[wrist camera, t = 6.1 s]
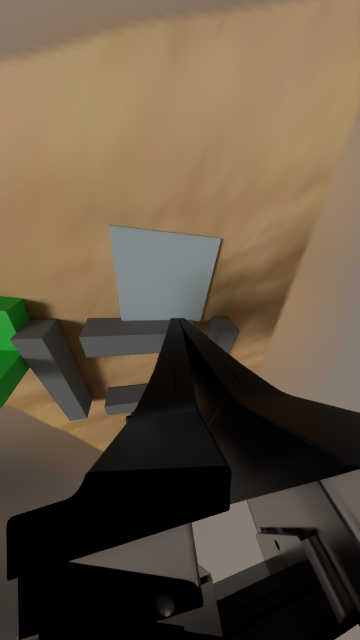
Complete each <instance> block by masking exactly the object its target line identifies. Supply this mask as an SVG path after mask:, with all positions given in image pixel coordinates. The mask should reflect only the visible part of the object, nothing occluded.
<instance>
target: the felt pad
mask: <svg viewBox="0 0 360 640" xmlns="http://www.w3.org/2000/svg"><path fill="white" fill-rule="evenodd" d="M109 228H110V236H111V244H112V251H113V259H114V266H115V274H116V282H117V289H118V297H119V305H120V312H121V320H122V321H133V320H170V318H185V319H187V320H192V321H201V317H202V313H203V309H204V305H205V301H206V297H207V293H208V289H209V285H210V281H211V277H212V273H213V269H214V265H215V261H216V257H217V254H218V250H219V246H220V242H221V238H217V237H208V236H200V235H192V234H183V233H175V232H166V231H158V230H149V229H141V228H132V227H124V226H115V225H109Z"/></svg>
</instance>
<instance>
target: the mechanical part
mask: <svg viewBox="0 0 360 640" xmlns="http://www.w3.org/2000/svg"><path fill="white" fill-rule="evenodd" d="M29 319H30V318H29V315H28V313H27V310H26V307H25V304H24V302H23V299H21V298H12V297H3V296H0V408H1V407H2V406H3V405H4V403H5V402H6V401H7V399H8V398H9V396H10V395H11V394H12V392H13V391H14V389H15V388H16V386H17V385H18V384H19V382H20V381H21V379H22V378H23V376H24V375H25V373H26V372H27V371H28V369H29V368H30V366H29V365H28V364H27V362H26V361H25V360H24V358H23V357H22V356H21V354H20V353H19V352H18V350H17V349H16V348H15V346H14V345H13V344H12V342H11V341H10V339H11V338H12V337H13V336H14V335H15V334H16V333H17V332H18V331H19V330H20V329H21V328H22V327H23V326H24V324H25V323H26V322H27V321H28V320H29Z"/></svg>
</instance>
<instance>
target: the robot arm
mask: <svg viewBox="0 0 360 640" xmlns="http://www.w3.org/2000/svg"><path fill="white" fill-rule="evenodd" d="M126 422H127V423H126V425H125V426H124V427H123V428H122V430H121V431H120V432H119V434H118V435H117V436H116V437H115V439H114V440H113V441H112V442H111V444H110V445H109V446H108V447H107V449H106V450H105V451H104V452H103V454H102V455H101V456H100V457H99V459H98V460H97V461H96V463H95V464H94V465H93V466H92V468H91V469H90V470H89V471H88V472H87V473H86V475H85V478H84V480H83V482H82V485H81V486H80V488H79V489H78V491H77V492H76V493H75V494H74V495H73V496H72V497H70V498H68V499H66V500H63V501H60V502H57V503H54V504H51V505H47V506H44V507H41V508H38V509H35V510H32V511H28V512H25V513H22V514H19V515H16V516H13V517H11V518H10V519H9V520H8V522H7V527H6V530H7V579H8V580H12V579H16V578H18V610H19V611H18V612H19V637H18V638H17V639H16V640H335V639H336V638H338V637H339V636H341V635H342V634H344V633H345V632H347V631H348V630H350V629H351V628H353V627H354V626H355V625H357V624H359V626H360V413H359V412H354V411H350V410H346V409H343V408H339V407H335V406H331V405H327V404H323V403H318V402H315V401H311V400H306V399H303V398H299V397H295V396H291V395H289V394H286V393H284V392H282V391H280V390H278V389H277V388H275V387H274V386H272V385H270V384H269V383H268V382H266V381H265V380H263V379H262V378H260V377H259V376H258V375H256V374H255V373H253V372H252V371H251V370H249V369H248V368H246V367H245V366H244V365H242V364H241V363H239V362H238V361H237V360H236V359H234V358H233V357H232V356H231V355H229V354H228V353H227V352H225V351H224V350H223V349H222V348H221V347H219V346H218V345H217V344H216V343H215V342H213V341H212V340H211V339H210V338H209V337H207V336H206V335H205V334H204V333H202V332H201V331H200V330H199V329H198V328H196V327H195V326H194V325H193V324H191V323H190V322H189V321H188V320H187V319H185V318H170V321H169V325H168V328H167V331H166V334H165V337H164V341H163V344H162V347H161V350H160V354H159V357H158V360H157V363H156V366H155V369H154V371H153V374H152V376H151V378H150V380H149V382H148V384H147V386H146V388H145V390H144V392H143V394H142V397H141V399H140V401H139V403H138V405H137V407H136V408H135V410H134V412H133V414H132V415H129V416H127V417H126ZM244 500H247V503H248V506H249V509H250V512H251V515H252V517H253V520H254V523H255V526H256V529H257V531H258V533H256V538H257V540H258V543H259V546H260V549H261V552H262V555H263V558H264V561H263V562H261V563H259V564H256V565H254V566H252V567H250V568H247V569H245V570H243V571H241V572H238V573H236V574H234V575H232V576H229V577H227V578H225V579H223V580H221V581H218V582H216V583H214V584H213V580H212V577H211V573H210V572H208V571H207V570H206V569H204V568H203V567H201V566H200V565H199V564H198V562H197V555H196V549H195V542H194V536H193V529H192V522H195V521H198V520H201V519H204V518H207V517H210V516H213V515H217V514H220V513H222V512H226V511H228V510H229V509H230V504H233V503H237V502H240V501H244Z"/></svg>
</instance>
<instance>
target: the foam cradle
mask: <svg viewBox="0 0 360 640" xmlns="http://www.w3.org/2000/svg"><path fill="white" fill-rule="evenodd" d="M169 321H170V320H133V321H122V320H121V318H98V319H87V321H86V323H85V325H84V327H83V329H82V332H81V334H80V336H79V339H80V342H81V345H82V347H83V350H84V353H85V355H86V358H88V357H104V356H119V355H135V354H150V353H160V350H161V347H162V344H163V341H164V337H165V334H166V331H167V328H168V325H169ZM188 321H189V322H190V323H191V324H193V325H194V323H193V321H192V320H188ZM238 333H239V330H238V329H237V327H236V326H235V325H234V323H233V322H232V321H231V319H230V318H229V317H212V320H211V323H210V327H209V330H208V333H207V337H209V338H210V339H211V340H212V341H213V342H215V343H216V344H217V345H218V346H219V347H221V348H222V349H223V350H224V351H225V352H227V353H228V354H229V352H230V350H231V348H232V346H233V344H234V342H235V340H236V337H237V335H238ZM10 341H11V342H12V344H13V345H14V346H15V348H16V349H17V350H18V352H19V353H20V354H21V356H22V357H23V358H24V360H25V361H26V362H27V364H28V365H29V366H30V368H31V369H32V370H33V372H34V373H35V374H36V376H37V377H38V379H39V380H40V381H41V383H42V384H43V385H44V387H45V388H46V389H47V391H48V392H49V393H50V395H51V396H52V397H53V399H54V400H55V401H56V403H57V404H58V405H59V407H60V408H61V409H62V411H63V412H64V413H65V415H66V416H67V417H68V419H69V420H70V421H72V420H79V419H85V418H87V417H88V413H89V410H90V406H91V402H92V398H91V395H90V393H89V391H88V389H87V386H86V384H85V382H84V380H83V377H82V375H81V373H80V371H79V368H78V366H77V364H76V362H75V359H74V357H73V355H72V353H71V350H70V348H69V346H68V344H67V341H66V339H65V337H64V335H63V332H62V330H61V328H60V326H59V323H58V321H57V319H29V320H28V321H27V322H26V323H25V324H24V326H23V327H22V328H21V329H20V330H19V331H18V332H17V333H16V334H15V335H14V336H13V337H12V338H11V339H10ZM146 386H147V384H140V385H131V386H122V387H113V388H108V391H107V396H106V402H105V409H106V412H107V415H113V414H120V413H126V412H133V411H134V410H135V408H136V407H137V405H138V403H139V401H140V399H141V397H142V394H143V392H144V390H145V388H146Z"/></svg>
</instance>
